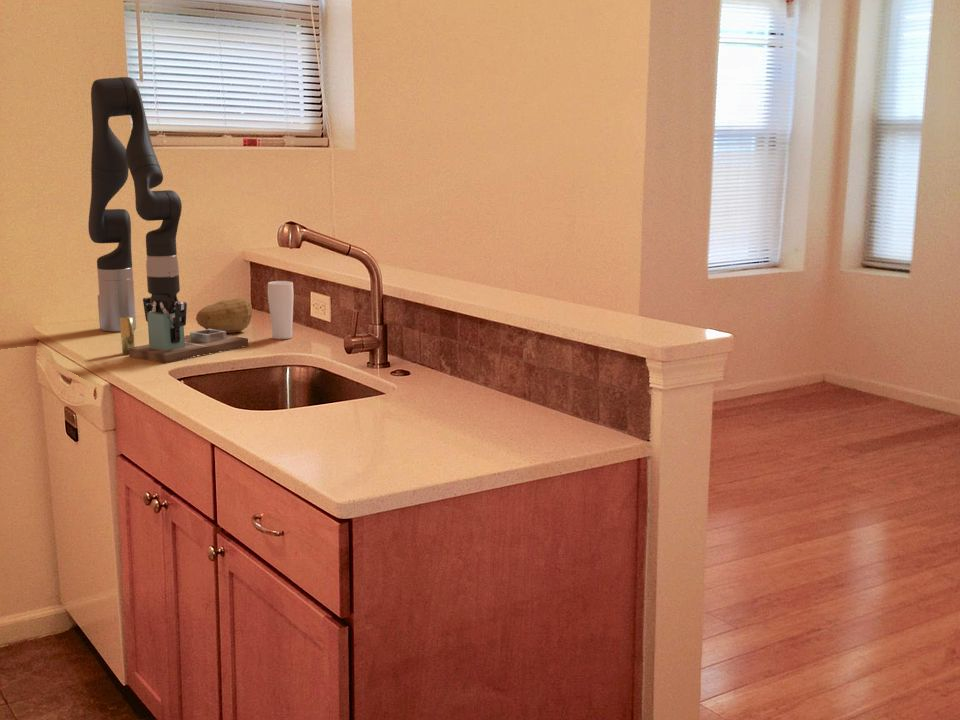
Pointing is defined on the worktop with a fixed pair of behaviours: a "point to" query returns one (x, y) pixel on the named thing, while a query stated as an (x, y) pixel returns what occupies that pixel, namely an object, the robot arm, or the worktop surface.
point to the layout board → (191, 346)
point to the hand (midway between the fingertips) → (166, 341)
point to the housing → (162, 332)
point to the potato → (226, 315)
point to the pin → (127, 334)
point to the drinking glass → (281, 308)
